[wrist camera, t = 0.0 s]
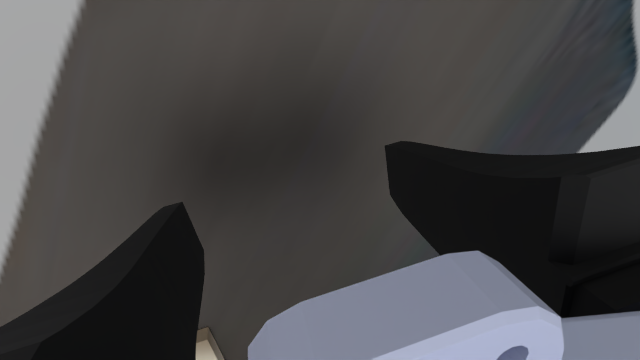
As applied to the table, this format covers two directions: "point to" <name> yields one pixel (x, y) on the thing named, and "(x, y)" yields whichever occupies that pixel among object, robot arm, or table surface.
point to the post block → (207, 346)
